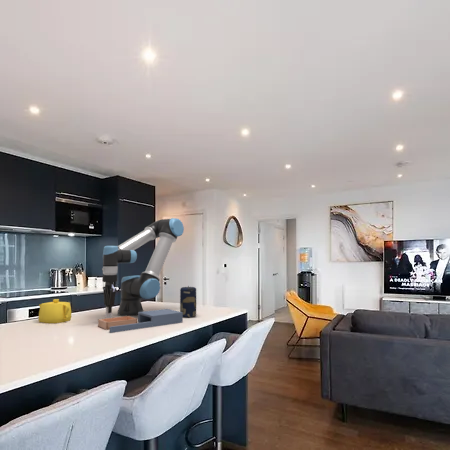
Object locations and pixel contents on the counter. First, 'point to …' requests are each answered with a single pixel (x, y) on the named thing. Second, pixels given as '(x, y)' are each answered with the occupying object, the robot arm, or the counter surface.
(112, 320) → the dish
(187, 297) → the canister
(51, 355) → the counter surface
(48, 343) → the counter surface
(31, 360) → the counter surface
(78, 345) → the counter surface
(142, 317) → the blue-grey box with strip
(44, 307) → the teapot
